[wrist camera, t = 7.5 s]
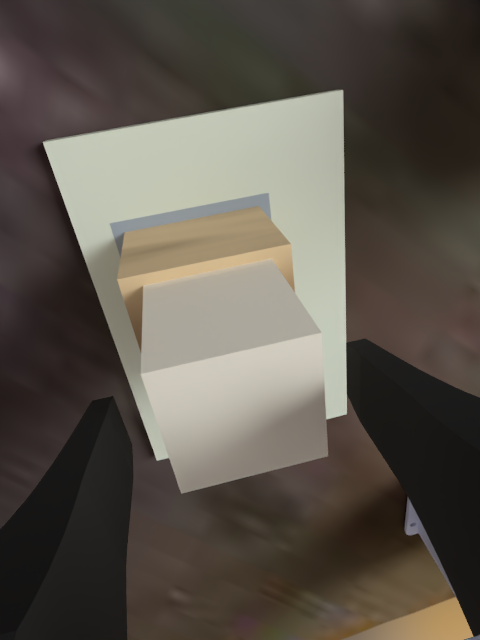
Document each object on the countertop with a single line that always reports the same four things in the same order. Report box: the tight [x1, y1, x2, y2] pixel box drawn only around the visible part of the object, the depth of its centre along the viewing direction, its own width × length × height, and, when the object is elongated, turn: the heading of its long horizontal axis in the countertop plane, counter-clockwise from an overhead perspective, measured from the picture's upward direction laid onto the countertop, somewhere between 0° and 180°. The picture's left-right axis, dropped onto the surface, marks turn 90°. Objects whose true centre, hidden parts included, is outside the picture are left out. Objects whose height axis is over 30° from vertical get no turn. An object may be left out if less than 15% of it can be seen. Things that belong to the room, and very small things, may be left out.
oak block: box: [117, 206, 295, 352], centre depth 18 cm, size 6×6×5 cm
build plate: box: [43, 90, 347, 460], centre depth 21 cm, size 18×12×1 cm, turn 8°
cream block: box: [141, 258, 328, 494], centre depth 13 cm, size 4×4×5 cm
